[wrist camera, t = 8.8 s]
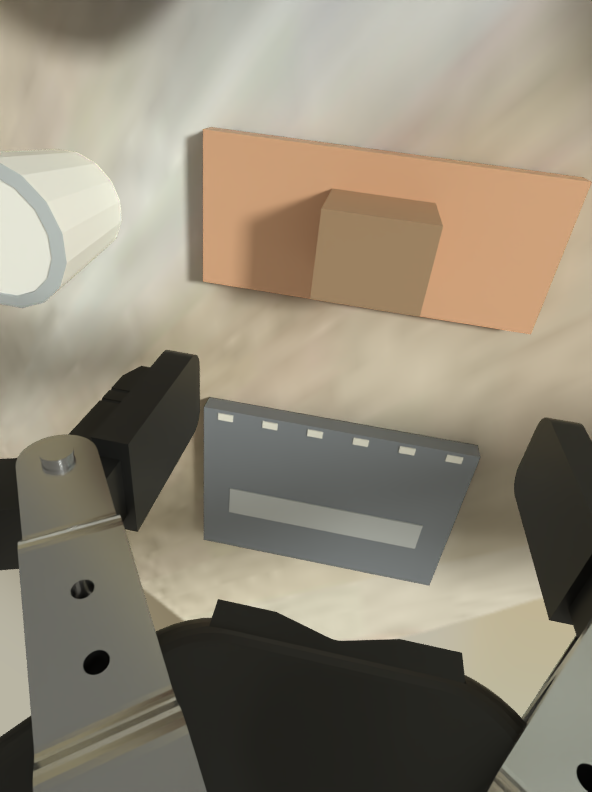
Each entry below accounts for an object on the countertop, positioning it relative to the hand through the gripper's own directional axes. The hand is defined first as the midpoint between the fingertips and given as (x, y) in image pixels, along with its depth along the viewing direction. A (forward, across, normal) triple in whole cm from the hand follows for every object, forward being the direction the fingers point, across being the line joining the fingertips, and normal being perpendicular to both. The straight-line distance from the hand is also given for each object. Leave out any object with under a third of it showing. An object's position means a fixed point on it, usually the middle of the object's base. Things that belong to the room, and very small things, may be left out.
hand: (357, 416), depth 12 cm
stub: (+17, 0, 0) cm, 17 cm away
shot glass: (+18, +17, +1) cm, 25 cm away
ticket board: (+18, 0, +19) cm, 26 cm away
